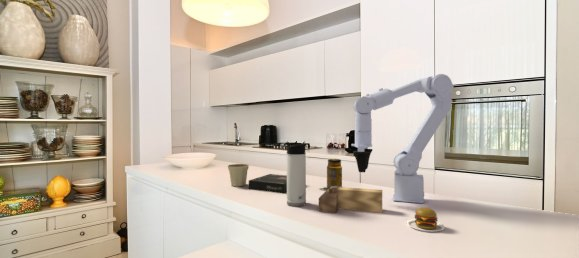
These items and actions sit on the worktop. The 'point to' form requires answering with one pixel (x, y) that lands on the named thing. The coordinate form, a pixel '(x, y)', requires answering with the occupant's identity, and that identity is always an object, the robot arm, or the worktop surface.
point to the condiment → (333, 173)
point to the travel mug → (296, 175)
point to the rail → (359, 199)
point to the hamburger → (426, 219)
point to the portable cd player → (269, 183)
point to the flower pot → (238, 174)
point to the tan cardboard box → (328, 201)
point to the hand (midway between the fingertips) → (363, 170)
